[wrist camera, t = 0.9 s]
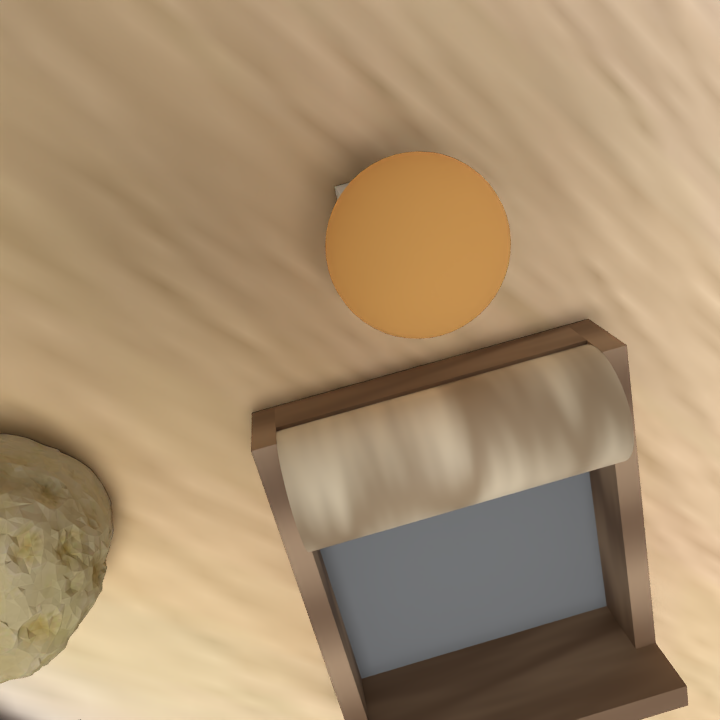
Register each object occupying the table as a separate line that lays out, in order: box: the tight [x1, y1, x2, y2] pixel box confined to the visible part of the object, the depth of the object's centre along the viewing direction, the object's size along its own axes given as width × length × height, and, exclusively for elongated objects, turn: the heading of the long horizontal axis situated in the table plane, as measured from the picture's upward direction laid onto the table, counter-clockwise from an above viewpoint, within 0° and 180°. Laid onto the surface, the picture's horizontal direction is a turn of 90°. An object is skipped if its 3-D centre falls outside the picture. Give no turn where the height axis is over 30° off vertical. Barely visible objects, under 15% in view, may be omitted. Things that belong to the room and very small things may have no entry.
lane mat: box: [320, 329, 607, 678], centre depth 33 cm, size 17×15×1 cm
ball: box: [325, 151, 511, 339], centre depth 23 cm, size 6×6×6 cm
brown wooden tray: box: [251, 319, 688, 720], centre depth 30 cm, size 17×15×6 cm
